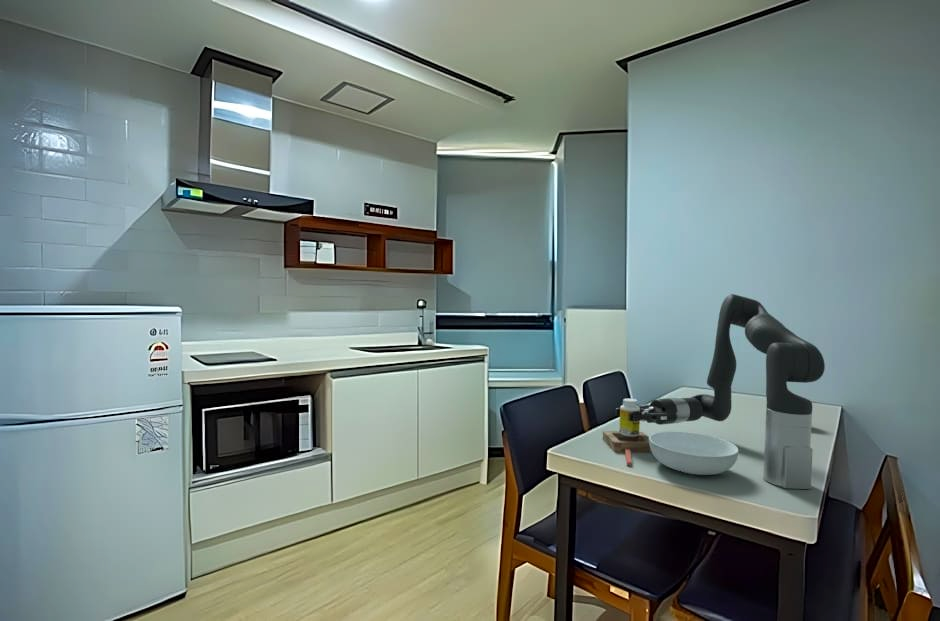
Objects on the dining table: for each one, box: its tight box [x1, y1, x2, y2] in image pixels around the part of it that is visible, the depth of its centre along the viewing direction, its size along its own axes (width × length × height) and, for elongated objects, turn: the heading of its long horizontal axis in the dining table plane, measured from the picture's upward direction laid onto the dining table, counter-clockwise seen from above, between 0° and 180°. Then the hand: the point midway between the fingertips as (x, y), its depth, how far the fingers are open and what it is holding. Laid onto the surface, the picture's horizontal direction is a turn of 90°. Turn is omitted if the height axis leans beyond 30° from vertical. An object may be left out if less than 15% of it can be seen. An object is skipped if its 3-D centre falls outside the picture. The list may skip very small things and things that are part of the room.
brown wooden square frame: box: [602, 430, 652, 453], centre depth 149 cm, size 12×12×2 cm
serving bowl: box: [648, 430, 740, 476], centre depth 130 cm, size 21×21×7 cm
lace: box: [624, 449, 633, 467], centre depth 136 cm, size 12×1×1 cm, turn 165°
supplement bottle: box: [619, 398, 641, 437], centre depth 149 cm, size 6×6×10 cm
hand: (622, 414), depth 148 cm, fingers closed on supplement bottle, 5 cm apart
